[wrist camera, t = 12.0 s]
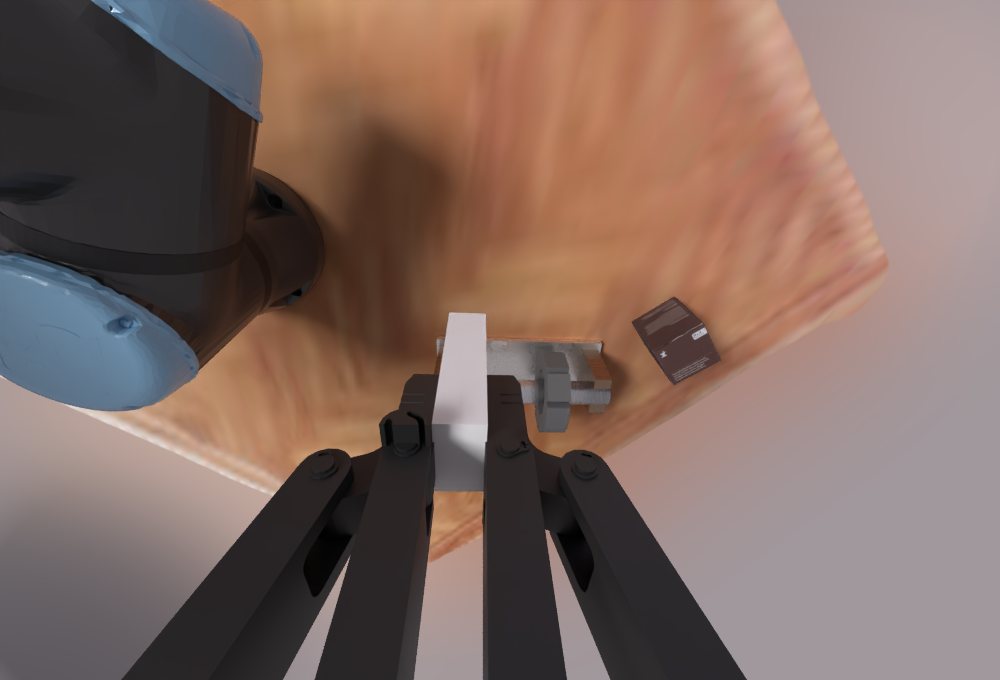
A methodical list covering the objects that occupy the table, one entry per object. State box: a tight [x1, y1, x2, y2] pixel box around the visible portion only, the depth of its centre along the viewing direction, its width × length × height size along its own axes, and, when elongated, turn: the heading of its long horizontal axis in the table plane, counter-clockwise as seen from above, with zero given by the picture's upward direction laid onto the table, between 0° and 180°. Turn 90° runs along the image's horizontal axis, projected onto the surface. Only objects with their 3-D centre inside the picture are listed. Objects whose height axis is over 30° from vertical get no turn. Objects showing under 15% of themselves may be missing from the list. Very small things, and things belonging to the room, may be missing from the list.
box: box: [632, 297, 721, 385], centre depth 46 cm, size 6×6×7 cm
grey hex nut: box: [535, 351, 571, 432], centre depth 46 cm, size 2×9×9 cm, turn 177°
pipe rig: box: [434, 336, 613, 413], centre depth 48 cm, size 21×7×8 cm, turn 87°
